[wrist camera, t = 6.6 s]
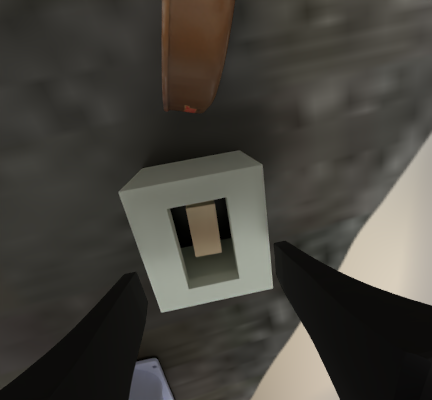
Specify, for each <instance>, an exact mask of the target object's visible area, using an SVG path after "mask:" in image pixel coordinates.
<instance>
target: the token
mask: <svg viewBox="0 0 432 400" xmlns="http://www.w3.org/2000/svg"><path fill="white" fill-rule="evenodd" d="M186 212H187V217H188V222H189V227H190V232H191V236H192V241H193V246H194V251H195V256H196V257H200V256H205V255H211V254H216V253H222V249H221V242H220V236H219V229H218V222H217V215H216V209H215V203H214V200H210V201H205V202H200V203H195V204H190V205H186Z"/></svg>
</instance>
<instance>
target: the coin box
mask: <svg viewBox="0 0 432 400" xmlns="http://www.w3.org/2000/svg"><path fill="white" fill-rule="evenodd" d="M118 193H119V196H120V198H121V201H122V204H123V207H124V210H125V212H126V215H127V218H128V221H129V224H130V226H131V229H132V232H133V235H134V238H135V240H136V243H137V246H138V249H139V252H140V254H141V257H142V260H143V263H144V266H145V268H146V271H147V274H148V277H149V280H150V282H151V285H152V288H153V291H154V294H155V296H156V299H157V302H158V305H159V308H160V310H161V313H162V312H167V311H172V310H176V309H181V308H185V307H190V306H195V305H199V304H204V303H208V302H213V301H217V300H222V299H227V298H231V297H236V296H240V295H245V294H250V293H254V292H259V291H263V290H268V289H273V282H272V270H271V258H270V247H269V235H268V223H267V211H266V199H265V187H264V176H263V165H262V164H261V163H259V162H258V161H256V160H254V159H253V158H251V157H250V156H248V155H246V154H245V153H243V152H242V151H240V150H238V151H232V152H227V153H221V154H216V155H211V156H205V157H200V158H195V159H189V160H184V161H179V162H173V163H168V164H163V165H157V166H152V167H146V168H142V169H141V170H140V171H139V172H138V173H137V174H136V175H135V176H134V177H133V178H132V179H131V180H130V181H129V182H128V183H127V184H126V185H125V186H124V187H123V188H122V189H121V190H120V191H119V192H118ZM221 198H225V200H226V206H227V212H228V218H229V225H230V231H231V237H232V238H228V239H223V240H220V242H221V249H222V253H216V254H211V255H205V256H200V257H196V256H195V251H194V246H189V247H184V248H180V244H179V240H178V237H177V233H176V229H175V226H174V222H173V218H172V214H171V211H170V208H175V207H180V206H185V205H190V204H195V203H200V202H205V201H210V200H215V199H221Z"/></svg>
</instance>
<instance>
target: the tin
mask: <svg viewBox="0 0 432 400" xmlns="http://www.w3.org/2000/svg"><path fill="white" fill-rule="evenodd" d="M234 5H235V0H162V38H161V40H162V93H163V106H164V110H165V111H169V110H176V111H183V112H190V113H203V112H205V111H206V109H207V108H208V107H209V106H210V105H211V104H212V102H213V100H214V99H215V96H216V93H217V90H218V87H219V83H220V79H221V75H222V72H223V67H224V63H225V58H226V53H227V48H228V43H229V37H230V31H231V25H232V18H233V12H234Z"/></svg>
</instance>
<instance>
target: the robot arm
mask: <svg viewBox="0 0 432 400" xmlns="http://www.w3.org/2000/svg"><path fill="white" fill-rule="evenodd" d="M274 252H275V266H276V275H277V277H278V280H279V282H280V284H281V287H282V289H283V291H284V293H285V295H286V296H287V298H288V300H289V302H290V303H291V305H292V307H293V308H294V310H295V312H296V313H297V315H298V317H299V318H300V320H301V322H302V323H303V325H304V327H305V329H306V330H307V332H308V334H309V335H310V337H311V339H312V341H313V343H314V345H315V347H316V349H317V351H318V353H319V355H320V357H321V359H322V362H323V364H324V366H325V368H326V370H327V372H328V374H329V376H330V378H331V381H332V383H333V385H334V387H335V389H336V391H337V394H338V396H339V398H340V400H432V306H431V305H428V304H424V303H421V302H418V301H414V300H411V299H407V298H405V297H401V296H398V295H395V294H392V293H390V292H387V291H384V290H381V289H379V288H376V287H373V286H371V285H368V284H366V283H363V282H361V281H358V280H356V279H354V278H351V277H349V276H347V275H345V274H343V273H341V272H339V271H337V270H335V269H333V268H331V267H329V266H327V265H325V264H323V263H322V262H320V261H318V260H316V259H314V258H313V257H311V256H309V255H308V254H306V253H304V252H303V251H301V250H299V249H298V248H296V247H295V246H293V245H291V244H290V243H288V242H286V241H282V242H277V243H274ZM147 305H148V301H147V298H146V296H145V293H144V290H143V288H142V285H141V283H140V280H139V277H138V275H137V272H133V273H128V274H124V275H123V276H122V277H121V278H120V279H119V280H118V282H117V283H116V284H115V285H114V286H113V287H112V288H111V289H110V290H109V292H108V293H107V294H106V295H105V296H104V297H103V298H102V299H101V300H100V302H99V303H98V304H97V305H96V306H95V307H94V308H93V309H92V310H91V311H90V312H89V313H88V314H87V315H86V316H85V317H84V318H83V319H82V320H81V321H80V322H79V323H78V324H77V325H76V327H75V328H74V329H72V330H71V331H70V332H69V333H68V334H67V335H66V336H65V337H64V338H63V339H62V340H61V341H60V342H59V343H57V344H56V345H55V346H54V347H53V348H52V349H51V350H50V351H48V352H47V353H46V354H45V355H44V356H43V357H41V358H40V359H39V360H38V361H37V362H35V363H34V364H33V365H32V366H30V367H29V368H28V369H27V370H26V371H24V372H23V373H22V374H21V375H19V376H18V377H17V378H16V379H14V380H13V381H12V382H11V383H9V384H8V385H7V386H5V387H4V388H3V389H1V390H0V400H174V397H173V395H172V393H171V390H170V388H169V385H168V383H167V380H166V378H165V376H164V373H163V371H162V368H161V366H160V363H159V361H158V359H156V358H151V359H146V360H142V361H138V362H136V360H137V356H138V352H139V348H140V344H141V340H142V336H143V331H144V327H145V322H146V315H147Z"/></svg>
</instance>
